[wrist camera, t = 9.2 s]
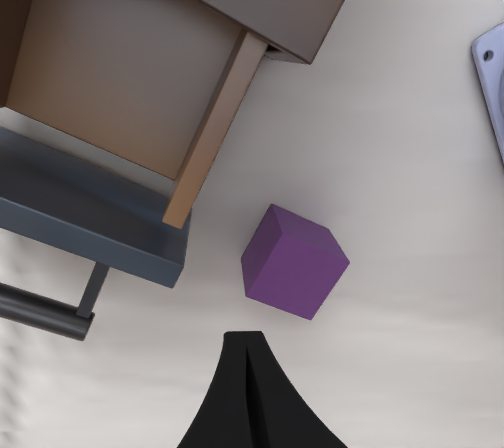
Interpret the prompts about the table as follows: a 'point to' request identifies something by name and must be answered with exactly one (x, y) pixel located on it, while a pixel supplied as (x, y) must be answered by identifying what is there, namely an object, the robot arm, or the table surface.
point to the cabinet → (282, 24)
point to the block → (291, 263)
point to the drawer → (113, 133)
